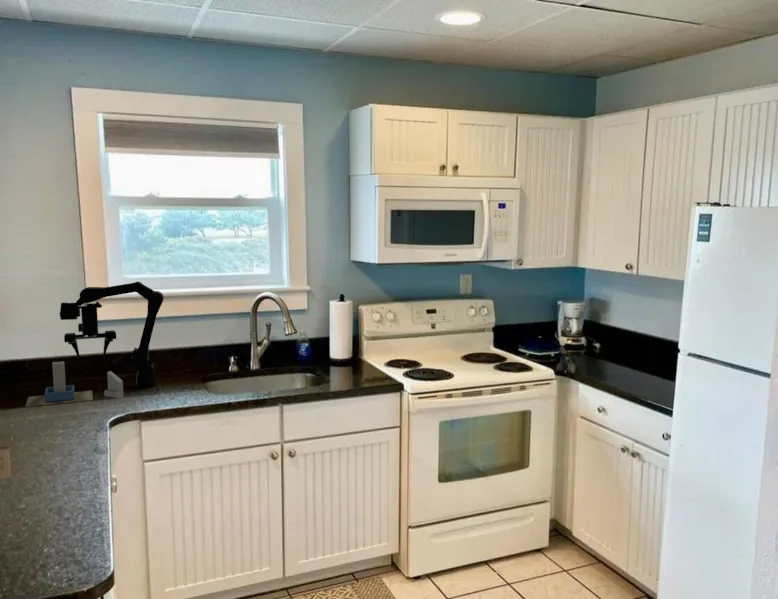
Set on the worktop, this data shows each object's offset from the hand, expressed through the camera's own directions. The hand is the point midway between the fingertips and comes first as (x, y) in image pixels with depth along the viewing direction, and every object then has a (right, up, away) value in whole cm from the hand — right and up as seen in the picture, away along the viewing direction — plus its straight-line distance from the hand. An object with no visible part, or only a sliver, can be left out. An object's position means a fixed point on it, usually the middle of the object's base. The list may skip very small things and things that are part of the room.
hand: (91, 357), depth 258 cm
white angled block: (+14, -15, -11) cm, 23 cm away
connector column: (-5, -13, -16) cm, 21 cm away
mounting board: (-5, -15, -15) cm, 22 cm away
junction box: (-5, -14, -16) cm, 21 cm away
